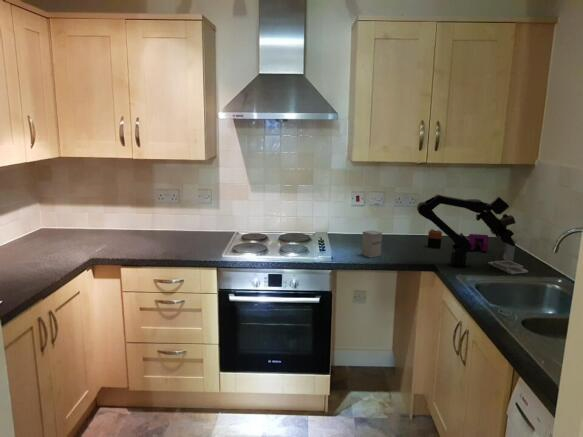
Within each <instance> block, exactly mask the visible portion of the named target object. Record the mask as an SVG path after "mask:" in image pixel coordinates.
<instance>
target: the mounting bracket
mask: <svg viewBox="0 0 583 437" xmlns="http://www.w3.org/2000/svg"><path fill="white" fill-rule="evenodd" d="M466 237H467V238H468V239H469V240H470V241H469V242H470V244H471V249H470V250H469V251H468V252H472V251H474V250H475V246H476V245H479V249H480V251H481V252H485V253H486V252H488V249H489V234H475V233H469V234H468V235H467V236H466Z"/></svg>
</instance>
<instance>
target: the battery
mask: <svg viewBox="0 0 583 437" xmlns="http://www.w3.org/2000/svg"><path fill="white" fill-rule="evenodd" d="M442 235H443V231H442V230H441V229H440V230H439V229H437V230H435V229H430V230H429V231H428V238H427V248H430V249H437V250H438V249H441V247H442V239H443V238H442Z"/></svg>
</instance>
